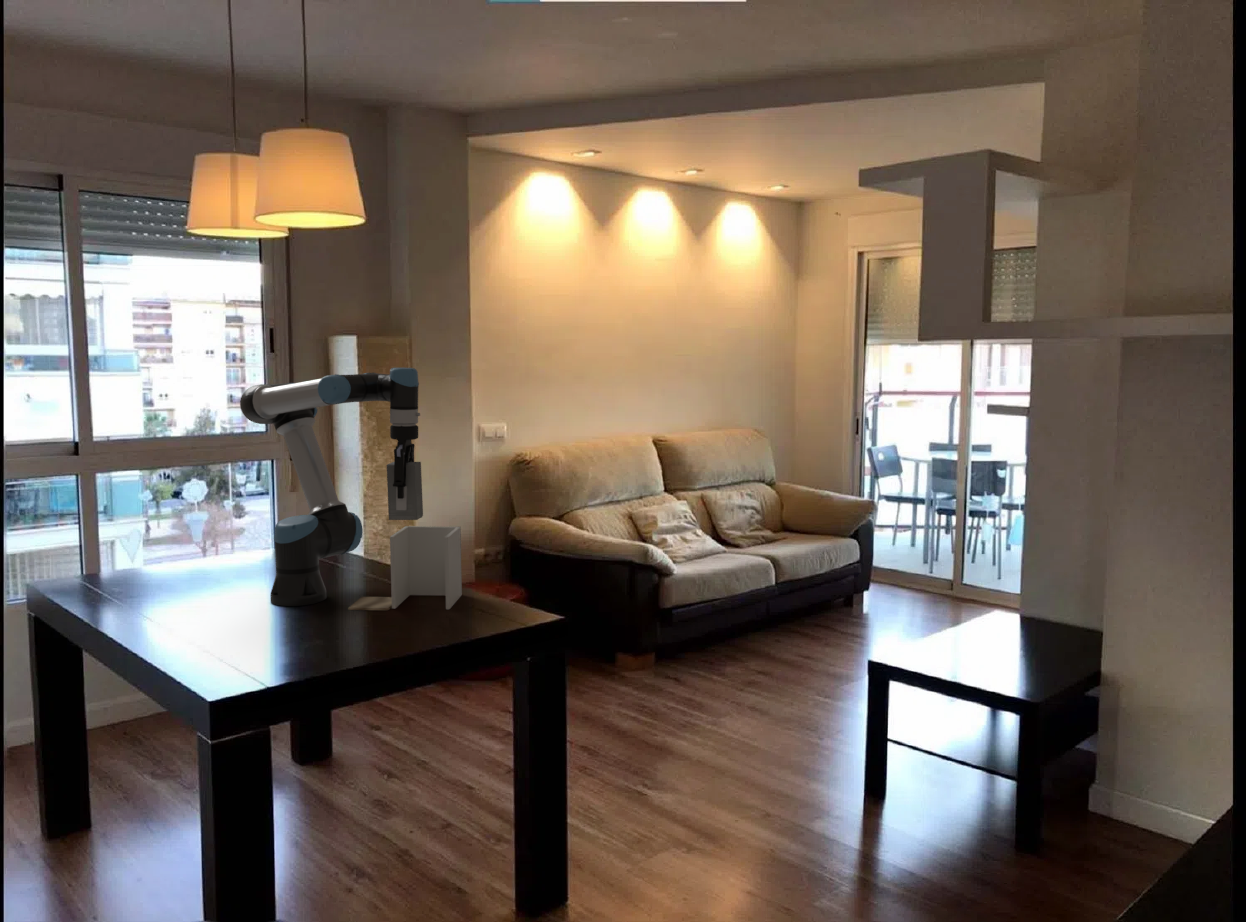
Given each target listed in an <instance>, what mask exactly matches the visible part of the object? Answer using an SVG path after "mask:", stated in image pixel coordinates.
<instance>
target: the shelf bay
mask: <svg viewBox="0 0 1246 922" xmlns="http://www.w3.org/2000/svg"><path fill="white" fill-rule="evenodd" d="M461 530H462V528H461V526H436V525H435V526H431V525H430V526H426V525H425V526H423V525H422V526H421V525H419V526H418V525H405V526H404V527H402V528H400V529H399V530H397V531H396V532H395V533H393V534H392V535H390V536H389V552H390V554H389V555H390V559H389V560H390V587H391V597H392V607H391V609H397V608H398V607H399V606H400V605H401V604H402V603H403V602H404V601H405V600H406V599H407V598H408V597H410V596H445V610H450V609H451V608H452V607H453V606H454V605H455V604H456V603H457V601H458V600H459V599H460V598H461V597H462V596H463V595H462V594H463V591H462V590H463V589H462V587H463V586H462V585H463V583H462V580H463V579H462V578H463V576H462V538H461V537H462V534H461V533H462V531H461Z"/></svg>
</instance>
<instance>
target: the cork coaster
mask: <svg viewBox="0 0 1246 922" xmlns="http://www.w3.org/2000/svg"><path fill="white" fill-rule="evenodd" d="M390 609H392V596H360V598H358V599H357V600H356V601H354V602H353V603H352V604H351V605H349V607H347V610H348V611H389V610H390Z"/></svg>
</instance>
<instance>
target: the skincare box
mask: <svg viewBox="0 0 1246 922" xmlns="http://www.w3.org/2000/svg"><path fill="white" fill-rule="evenodd" d="M386 480H387V481H386V482H387V483H386V484H387V510H388V512H387V513H388V520H389V521H418V520H419V519H421V518H423V516H424V507H423V505H424V504H423V503H424V502H423V484H422V482H423V480H422V461H414V462H408V463H407V464H406V486H407V510H396V487H394V486H393V484H394V461H393V462H392V461H391V462H390V463H387V464H386Z"/></svg>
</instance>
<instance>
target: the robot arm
mask: <svg viewBox="0 0 1246 922" xmlns="http://www.w3.org/2000/svg"><path fill="white" fill-rule="evenodd" d="M418 373H419V372H418V370H417V369H416V368H413V367H391V368H390V369H389V374H387V373H376V372H365V373H360V374H359V373H357V374H356V373H354V374H337V373H335V374H329V375H324V376H323V377H321V378H316V379H310V380H305V381H300V382H286V383H267V384H266V383H263V384H262V383H261V384H256V385H252V386H250V387H249V388H247V389H245V391H244V392H243V393H242V395H241V397H240V402H239V407H240V411H241V412H242V414H243V416H244V417H245V418H246V419H247V420H248V421H250V422H251V423H252V422H253V423H255V424H260V425H271V424H273V426H274V430H275V431H276V433H277V434H278V435H280V436H282V437H283V438H284V441H285V444H286V446H287V450H288V453H289V455H290V458H291V461H292V464H293V466H294V467H293V468H294V469H295V472H296V475H297V477H298V480H299V484H300V486H301V489H302V492H303V496H304V497H305V500H306V504H307V506H308V508H309V512H308V513H307V514H299V515H293V516H289V517H285V518H283V519H281V520H279V521H277V523H276V524H275V526H274V535H273V541H274V551H275V552H274V553H275V555H274V557H275V578H274V581H273V584H272V588H271V591H270V603H271V604H273V605H275V606H282V607H298V606H299V607H300V606H301V607H302V606H308V605H313V604H317V603H320V602H323V601H325V600H326V599H327V589H326V586H325V583H324V581H323V578H322V575H321V572H320V559H326V558H330V557H333V556H338V555H344V554H347V553H350V552H353V551H354V550H355V549H356V548H358V547H359V545H360V544H361V542H362V541H361V539H362V538H363V524H362V520H361V519H360V517H359V516H358V515H357V514H356V513H354V512H351V511H349V510H348V507H347V504H346V503H344V502H342V501H340V500H339V498H338V495H337V493H336V490H335V489H336V488H335V486H334V483H333V481H332V477H331V475H330V473H329V471H328V468H327V465H326V462H325V459H324V456H323V453H322V451H321V448H320V445H319V443H318V440H317V435H316V434H315V431H314V428H313V426H314V425H315V422H316V419H315V417H316V415H317V414H318V408H321V407H326V406H334V405H340V404H348V403H349V404H350V403H359V402H389V404H390V405H389V410H390V411H389V417H390V418H389V423H390V424H391V425H390V427H389V435H390V437H389V438H390V439H391V440H397V444H396V446H395V448H394V449H393V457H394V459H393V460H394V461H393V462H394V484H393V486H394V487H396V510H407V486H406V464H407V463H408V462H415V443H412V441H413V440H417V439H419V426H418V423H419V417H420V416H421V413H420V412H419V385H420V383H419V374H418Z"/></svg>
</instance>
